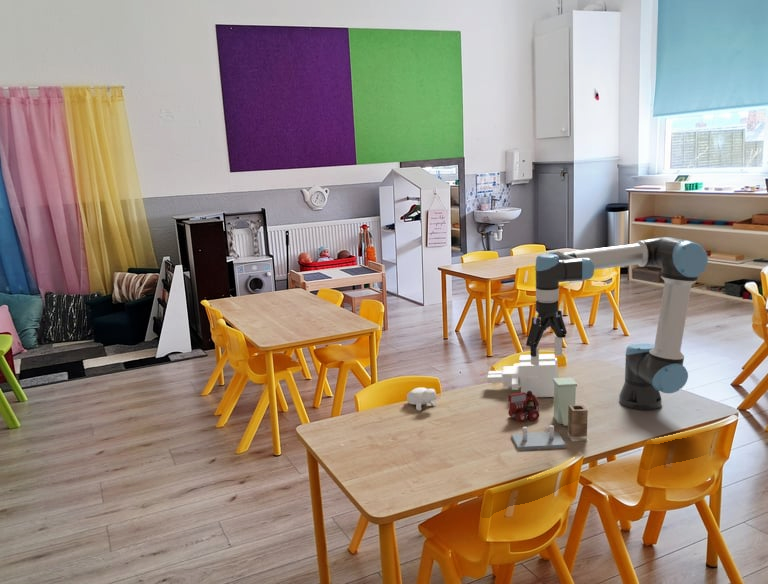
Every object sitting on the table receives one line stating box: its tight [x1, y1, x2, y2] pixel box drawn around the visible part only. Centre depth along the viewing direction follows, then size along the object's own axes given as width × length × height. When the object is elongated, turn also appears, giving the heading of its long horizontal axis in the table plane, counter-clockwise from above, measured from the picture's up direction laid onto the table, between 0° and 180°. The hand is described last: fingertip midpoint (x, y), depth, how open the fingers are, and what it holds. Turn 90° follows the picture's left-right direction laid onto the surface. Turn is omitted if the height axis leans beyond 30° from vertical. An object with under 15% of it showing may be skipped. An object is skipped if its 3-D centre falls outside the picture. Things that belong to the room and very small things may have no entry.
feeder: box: [553, 376, 578, 427], centre depth 233 cm, size 7×12×15 cm, turn 2°
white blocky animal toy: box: [406, 387, 437, 412], centre depth 254 cm, size 9×8×15 cm
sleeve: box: [567, 404, 589, 442], centre depth 221 cm, size 5×5×11 cm
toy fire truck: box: [507, 391, 540, 424], centre depth 238 cm, size 7×12×10 cm, turn 109°
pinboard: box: [510, 425, 567, 451], centre depth 219 cm, size 16×10×6 cm, turn 92°
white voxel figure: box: [486, 353, 559, 398], centre depth 265 cm, size 15×25×28 cm
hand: (546, 360), depth 224 cm, fingers open, 13 cm apart
